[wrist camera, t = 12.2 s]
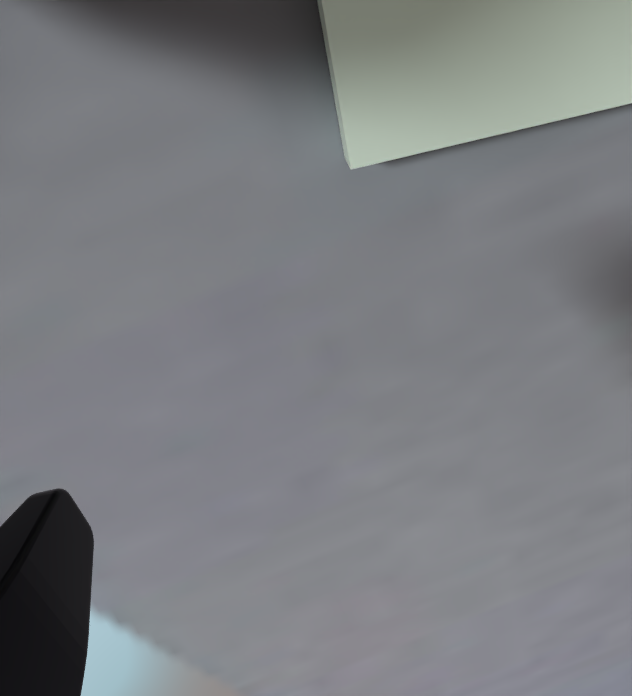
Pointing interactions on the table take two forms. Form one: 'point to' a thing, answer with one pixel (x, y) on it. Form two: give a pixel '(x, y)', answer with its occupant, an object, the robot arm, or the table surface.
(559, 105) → the green pad
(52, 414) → the table surface
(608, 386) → the table surface
